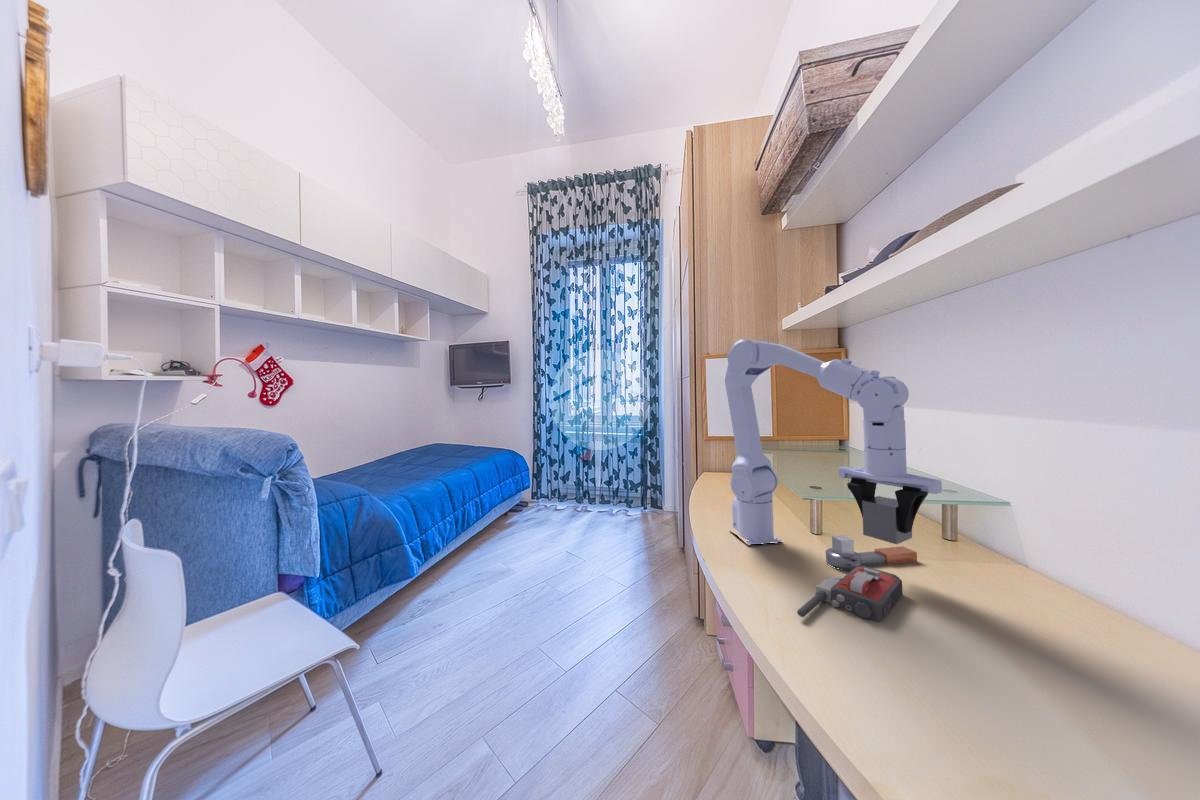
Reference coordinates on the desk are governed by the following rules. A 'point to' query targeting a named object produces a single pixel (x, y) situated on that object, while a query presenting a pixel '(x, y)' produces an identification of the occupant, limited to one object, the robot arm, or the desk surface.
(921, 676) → the desk surface
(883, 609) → the walkie-talkie
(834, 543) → the ratchet
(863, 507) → the dark grey block
